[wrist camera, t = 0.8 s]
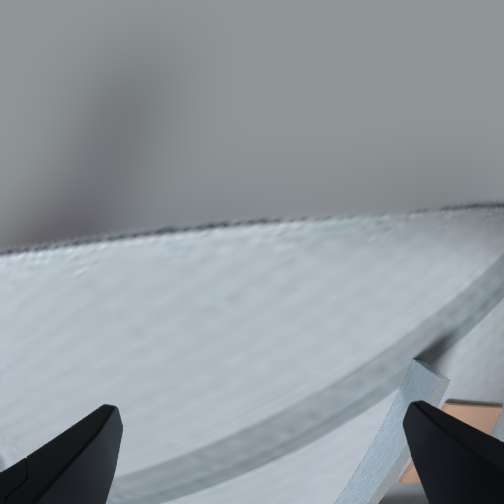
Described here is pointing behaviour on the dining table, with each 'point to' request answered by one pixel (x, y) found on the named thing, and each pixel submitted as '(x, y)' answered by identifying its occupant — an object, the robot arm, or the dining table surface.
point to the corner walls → (393, 437)
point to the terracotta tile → (469, 414)
